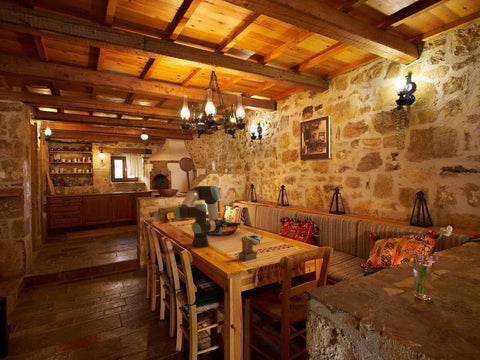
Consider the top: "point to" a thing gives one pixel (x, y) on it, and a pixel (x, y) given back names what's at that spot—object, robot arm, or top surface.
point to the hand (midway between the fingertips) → (237, 221)
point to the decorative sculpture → (255, 238)
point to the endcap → (247, 256)
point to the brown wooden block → (247, 246)
